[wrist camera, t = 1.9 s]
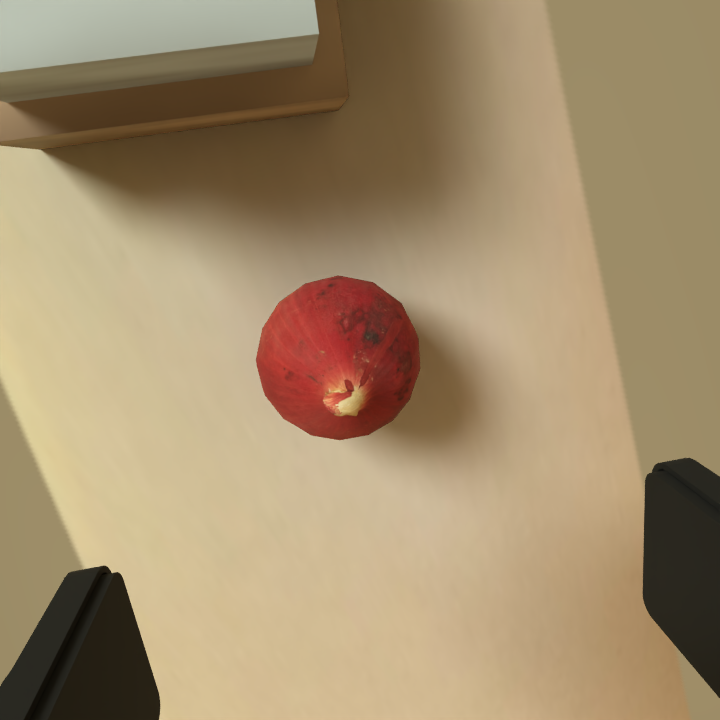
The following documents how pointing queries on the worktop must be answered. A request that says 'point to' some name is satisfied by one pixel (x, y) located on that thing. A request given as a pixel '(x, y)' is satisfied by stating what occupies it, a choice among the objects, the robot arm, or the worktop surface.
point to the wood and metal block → (162, 66)
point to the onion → (338, 358)
